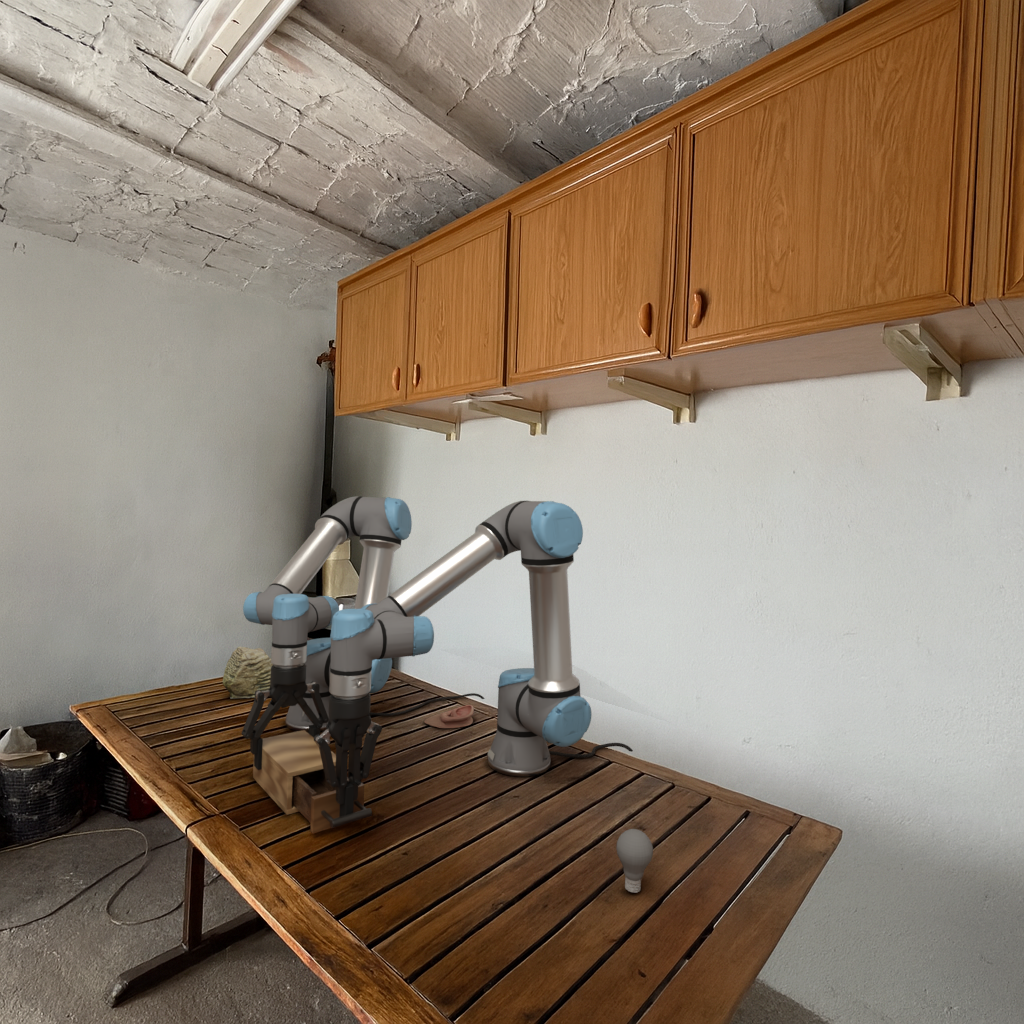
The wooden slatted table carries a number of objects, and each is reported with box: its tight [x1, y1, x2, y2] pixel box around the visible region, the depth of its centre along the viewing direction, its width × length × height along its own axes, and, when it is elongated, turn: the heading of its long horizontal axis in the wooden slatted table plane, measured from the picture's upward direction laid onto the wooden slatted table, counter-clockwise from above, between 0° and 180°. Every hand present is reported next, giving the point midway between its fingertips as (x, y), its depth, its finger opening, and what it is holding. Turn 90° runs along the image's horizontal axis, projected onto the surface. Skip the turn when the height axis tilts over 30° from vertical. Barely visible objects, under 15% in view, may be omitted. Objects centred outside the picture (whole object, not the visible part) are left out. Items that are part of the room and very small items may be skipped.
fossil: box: [222, 646, 273, 699], centre depth 198 cm, size 9×18×15 cm, turn 132°
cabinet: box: [252, 730, 336, 816], centre depth 137 cm, size 20×11×8 cm, turn 40°
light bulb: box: [615, 828, 654, 894], centre depth 106 cm, size 6×6×10 cm
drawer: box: [292, 767, 373, 834], centre depth 126 cm, size 25×10×6 cm, turn 40°
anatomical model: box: [424, 704, 475, 729], centre depth 181 cm, size 13×4×12 cm
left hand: (285, 761), depth 142 cm, fingers closed on cabinet, 11 cm apart
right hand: (346, 818), depth 118 cm, fingers closed
